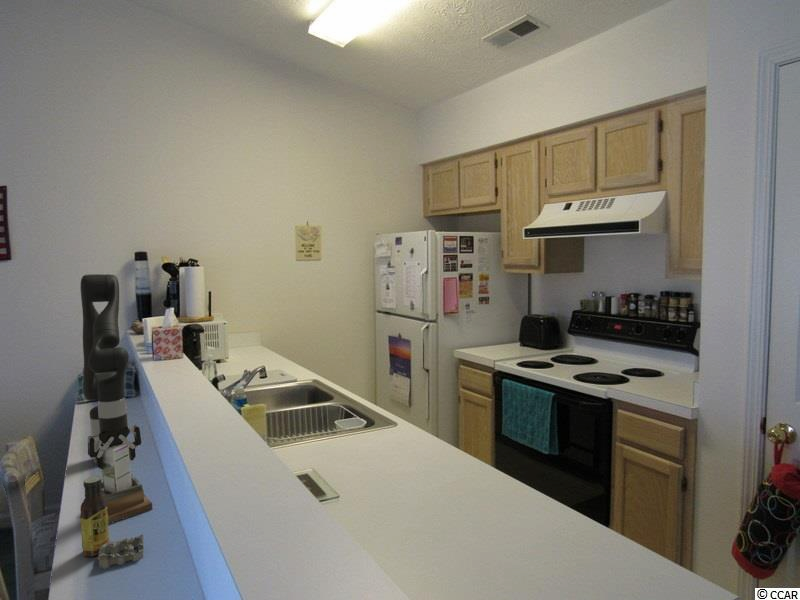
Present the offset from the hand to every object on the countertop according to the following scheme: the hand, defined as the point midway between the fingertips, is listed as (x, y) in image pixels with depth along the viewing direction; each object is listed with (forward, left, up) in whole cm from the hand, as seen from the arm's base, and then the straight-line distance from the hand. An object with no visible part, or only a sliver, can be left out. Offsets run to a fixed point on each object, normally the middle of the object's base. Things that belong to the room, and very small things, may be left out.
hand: (116, 463), depth 158 cm
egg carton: (+28, -7, -15) cm, 32 cm away
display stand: (0, 0, -14) cm, 14 cm away
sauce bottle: (+20, -11, -15) cm, 27 cm away
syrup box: (0, 0, -9) cm, 9 cm away
